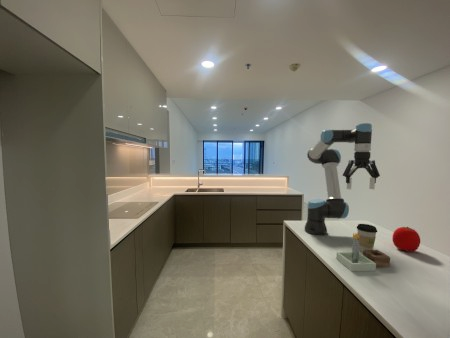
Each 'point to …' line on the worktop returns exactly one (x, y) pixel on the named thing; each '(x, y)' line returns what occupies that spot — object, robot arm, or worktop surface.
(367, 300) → the worktop surface
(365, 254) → the socket block
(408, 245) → the tomato
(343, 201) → the robot arm
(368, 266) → the tray
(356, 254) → the pin
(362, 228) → the coffee cup
